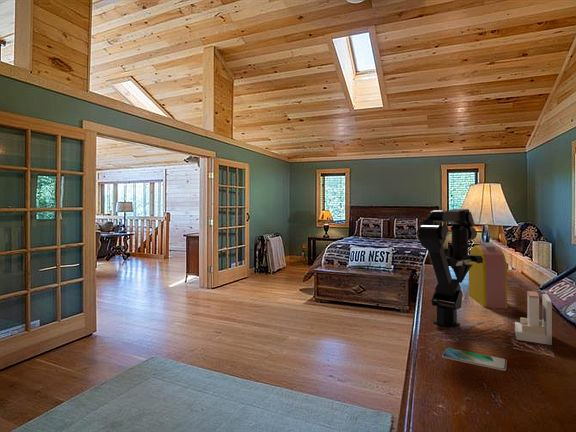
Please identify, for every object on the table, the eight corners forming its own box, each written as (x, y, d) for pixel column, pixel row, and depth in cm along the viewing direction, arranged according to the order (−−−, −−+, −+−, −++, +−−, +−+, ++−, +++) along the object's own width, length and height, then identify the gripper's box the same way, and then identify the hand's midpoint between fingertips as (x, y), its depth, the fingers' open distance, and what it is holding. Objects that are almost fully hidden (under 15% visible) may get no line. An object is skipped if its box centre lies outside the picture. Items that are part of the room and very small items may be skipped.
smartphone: (506, 369, 86) (441, 356, 94) (505, 373, 86) (441, 359, 95) (506, 358, 92) (446, 347, 100) (506, 362, 92) (446, 350, 100)
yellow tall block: (508, 308, 142) (508, 244, 142) (484, 307, 144) (483, 244, 144) (489, 296, 162) (488, 240, 162) (468, 295, 164) (468, 240, 164)
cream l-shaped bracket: (516, 339, 107) (516, 298, 107) (514, 329, 117) (514, 291, 117) (551, 345, 103) (551, 301, 103) (547, 333, 112) (547, 294, 112)
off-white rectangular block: (529, 330, 107) (529, 295, 107) (527, 324, 113) (527, 291, 113) (539, 332, 106) (539, 296, 106) (536, 325, 112) (536, 291, 112)
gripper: (458, 239, 142) (458, 276, 142) (425, 241, 134) (425, 281, 135) (483, 241, 132) (483, 281, 132) (449, 243, 124) (449, 286, 125)
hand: (459, 282), depth 131 cm, fingers closed
